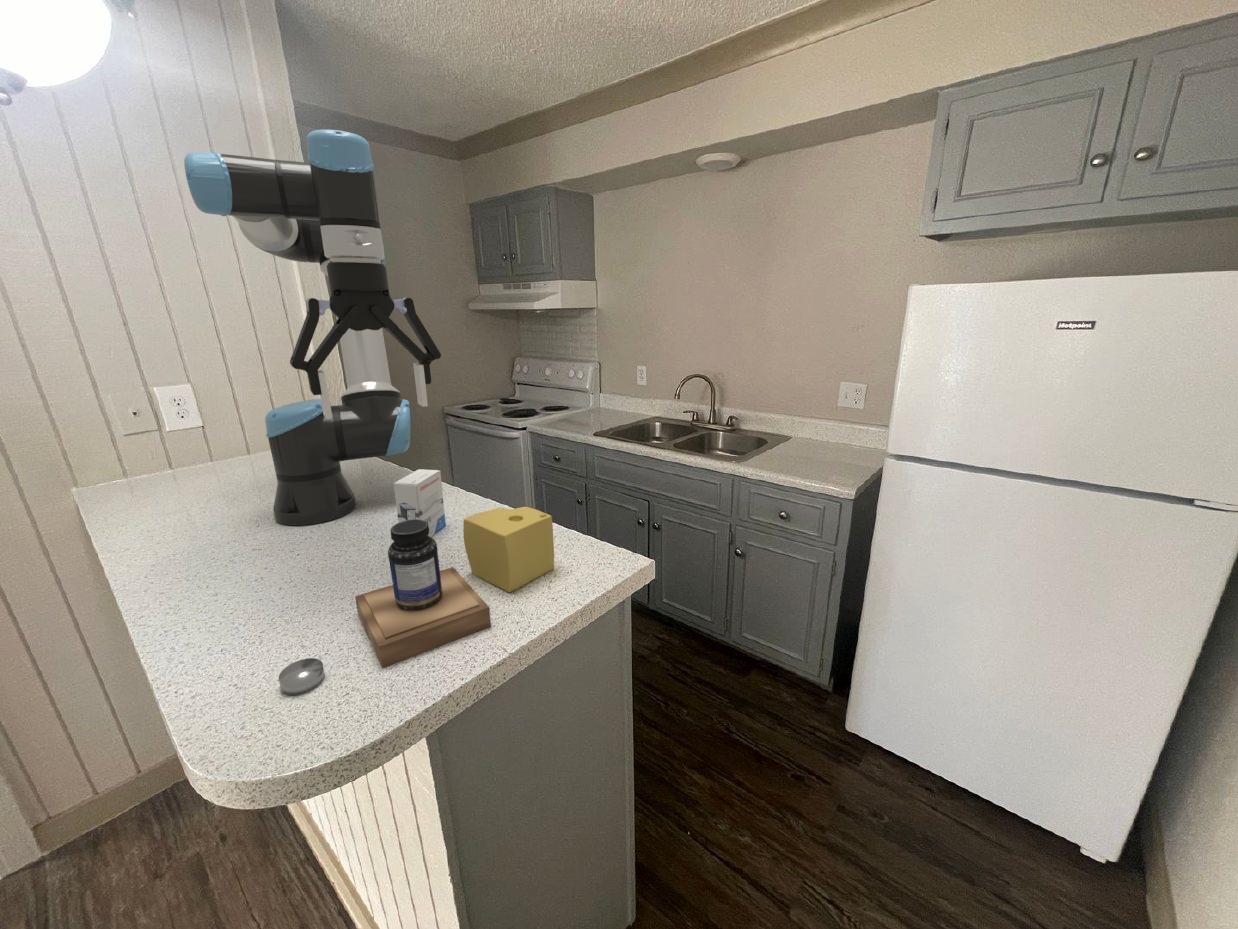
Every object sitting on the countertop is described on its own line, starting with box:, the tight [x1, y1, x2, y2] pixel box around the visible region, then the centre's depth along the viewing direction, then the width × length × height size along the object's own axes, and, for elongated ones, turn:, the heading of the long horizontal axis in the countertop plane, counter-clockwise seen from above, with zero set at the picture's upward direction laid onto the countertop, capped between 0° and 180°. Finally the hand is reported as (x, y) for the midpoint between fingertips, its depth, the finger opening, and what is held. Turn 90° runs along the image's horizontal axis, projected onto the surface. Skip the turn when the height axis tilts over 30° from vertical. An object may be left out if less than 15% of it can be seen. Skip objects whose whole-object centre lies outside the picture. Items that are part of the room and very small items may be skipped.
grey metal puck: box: [278, 657, 326, 697], centre depth 60 cm, size 4×4×2 cm
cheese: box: [462, 506, 555, 593], centre depth 83 cm, size 10×11×10 cm
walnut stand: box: [354, 566, 492, 668], centre depth 71 cm, size 14×14×3 cm
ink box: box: [393, 468, 446, 538], centre depth 98 cm, size 9×5×12 cm, turn 168°
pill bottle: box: [387, 519, 442, 610], centre depth 69 cm, size 6×6×11 cm
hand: (377, 410), depth 79 cm, fingers open, 13 cm apart
